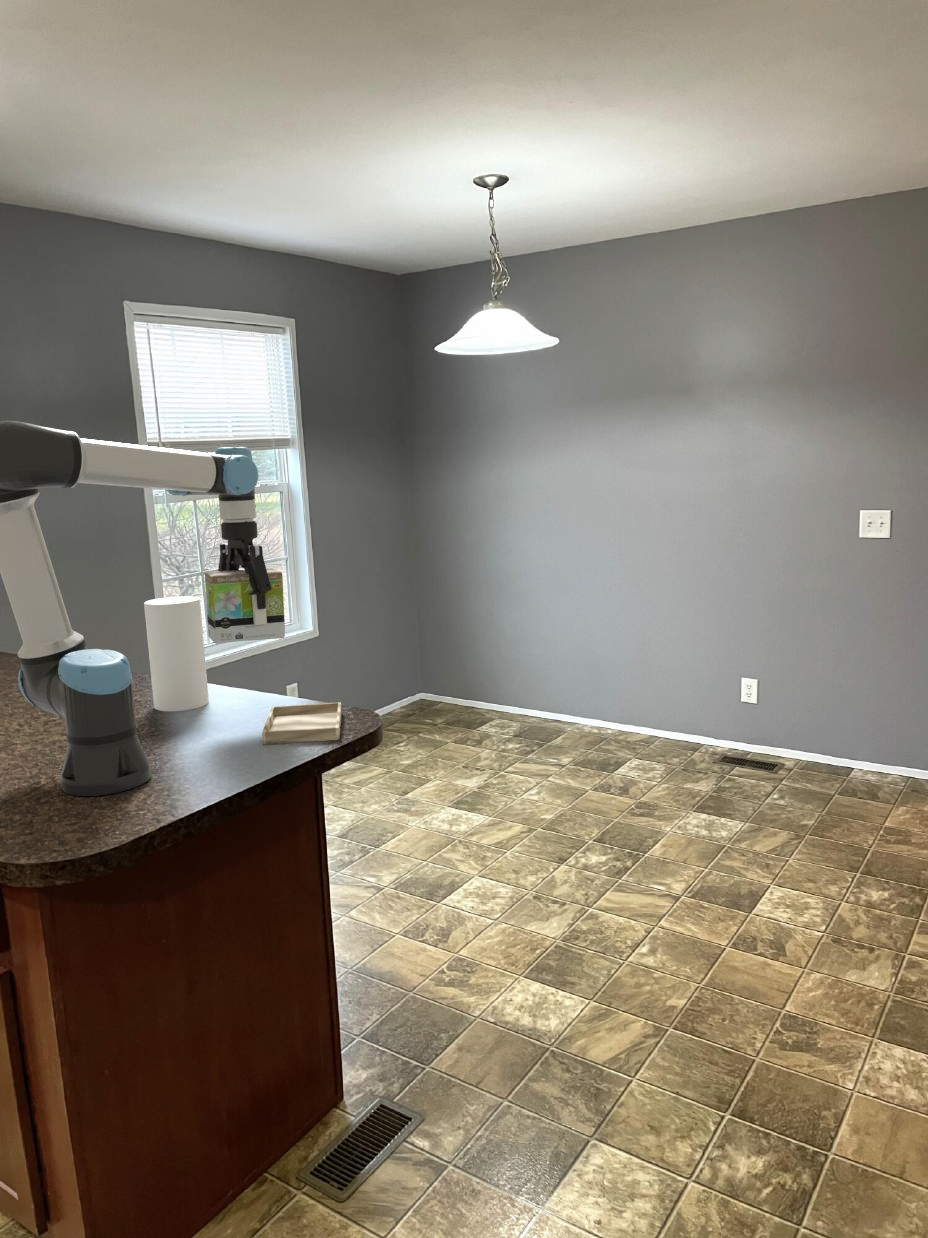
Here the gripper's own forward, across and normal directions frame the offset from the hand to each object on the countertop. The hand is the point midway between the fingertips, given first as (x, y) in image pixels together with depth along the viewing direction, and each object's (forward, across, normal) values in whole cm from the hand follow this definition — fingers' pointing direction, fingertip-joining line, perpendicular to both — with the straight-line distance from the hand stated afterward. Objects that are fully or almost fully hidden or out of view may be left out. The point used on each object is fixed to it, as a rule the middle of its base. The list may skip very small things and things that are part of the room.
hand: (245, 621), depth 202 cm
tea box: (+4, 0, 0) cm, 4 cm away
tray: (+22, -15, -3) cm, 27 cm away
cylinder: (+22, +25, +4) cm, 34 cm away
